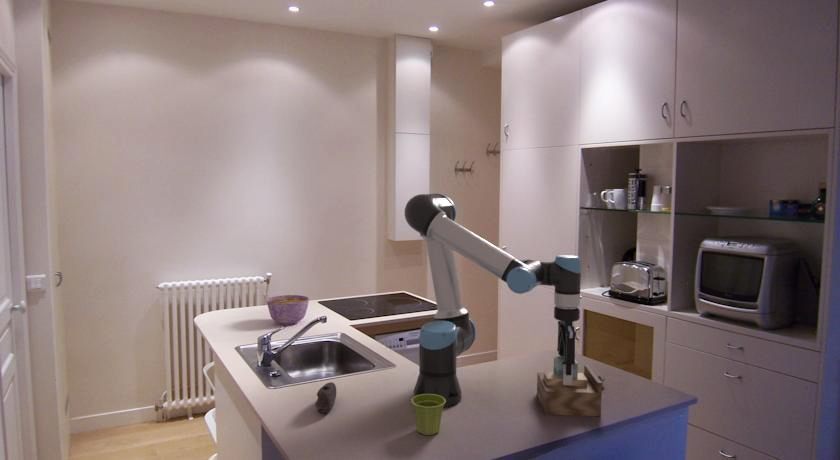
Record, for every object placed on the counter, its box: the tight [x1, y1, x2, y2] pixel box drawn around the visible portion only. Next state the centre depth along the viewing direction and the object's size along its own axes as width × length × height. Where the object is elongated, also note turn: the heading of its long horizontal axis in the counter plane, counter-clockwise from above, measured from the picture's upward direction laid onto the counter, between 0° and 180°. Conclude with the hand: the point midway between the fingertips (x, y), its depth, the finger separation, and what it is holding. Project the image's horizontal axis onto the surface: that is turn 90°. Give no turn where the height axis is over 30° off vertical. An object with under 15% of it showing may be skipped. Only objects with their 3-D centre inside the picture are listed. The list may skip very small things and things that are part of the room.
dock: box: [536, 364, 603, 417], centre depth 167 cm, size 16×16×10 cm
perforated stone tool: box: [315, 381, 338, 414], centre depth 165 cm, size 15×5×7 cm, turn 176°
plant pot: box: [410, 394, 446, 436], centre depth 149 cm, size 9×9×9 cm
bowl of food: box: [266, 294, 310, 326], centre depth 262 cm, size 20×20×12 cm
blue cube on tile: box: [543, 356, 588, 386], centre depth 167 cm, size 12×6×7 cm, turn 87°
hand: (565, 380), depth 167 cm, fingers open, 6 cm apart
